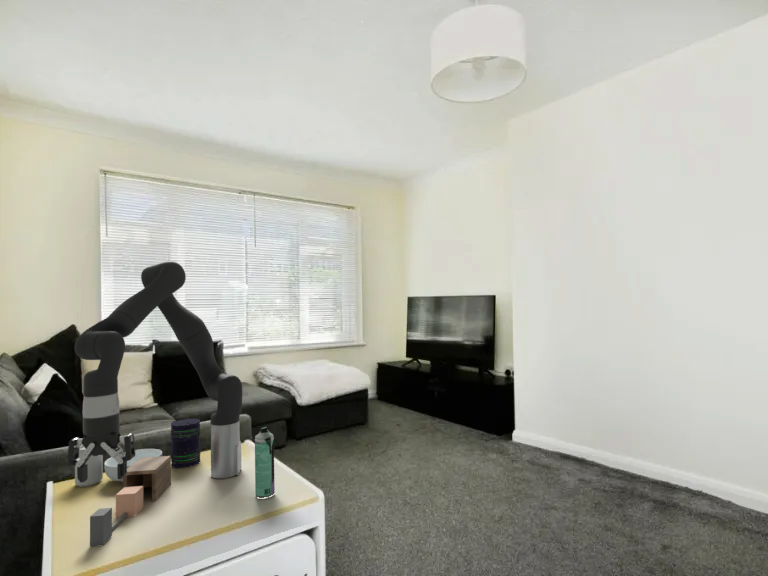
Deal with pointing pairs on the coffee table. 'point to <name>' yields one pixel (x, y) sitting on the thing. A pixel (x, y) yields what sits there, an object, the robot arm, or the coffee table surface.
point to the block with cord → (126, 505)
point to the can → (91, 469)
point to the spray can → (264, 464)
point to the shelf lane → (150, 474)
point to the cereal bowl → (128, 462)
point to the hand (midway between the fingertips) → (102, 479)
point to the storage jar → (185, 443)
